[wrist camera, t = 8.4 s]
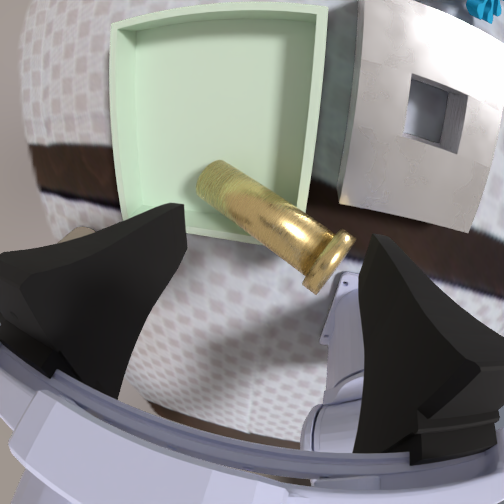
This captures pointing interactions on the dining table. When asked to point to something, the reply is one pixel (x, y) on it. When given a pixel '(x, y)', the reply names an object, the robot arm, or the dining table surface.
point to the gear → (484, 9)
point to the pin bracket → (395, 107)
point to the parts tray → (215, 104)
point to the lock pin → (275, 223)
